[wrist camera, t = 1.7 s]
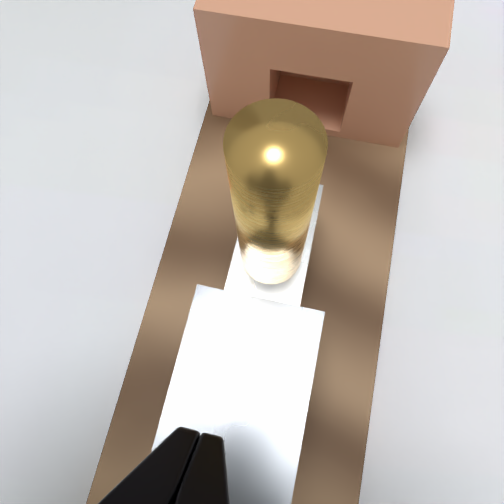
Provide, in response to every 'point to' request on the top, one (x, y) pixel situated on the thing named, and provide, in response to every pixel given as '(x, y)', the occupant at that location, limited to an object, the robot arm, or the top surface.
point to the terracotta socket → (326, 59)
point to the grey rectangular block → (246, 387)
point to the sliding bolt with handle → (274, 196)
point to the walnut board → (313, 296)
